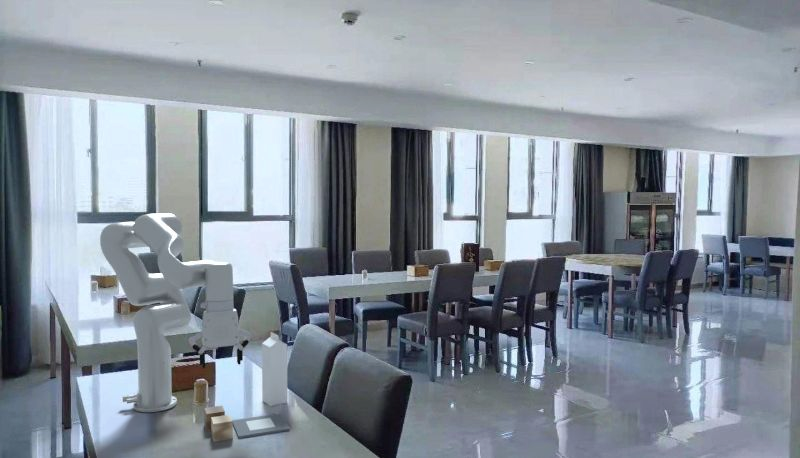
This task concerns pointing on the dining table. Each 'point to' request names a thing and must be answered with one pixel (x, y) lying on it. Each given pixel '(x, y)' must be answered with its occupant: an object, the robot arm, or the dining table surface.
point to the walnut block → (212, 415)
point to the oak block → (221, 428)
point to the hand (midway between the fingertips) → (221, 365)
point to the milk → (274, 371)
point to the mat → (260, 425)
